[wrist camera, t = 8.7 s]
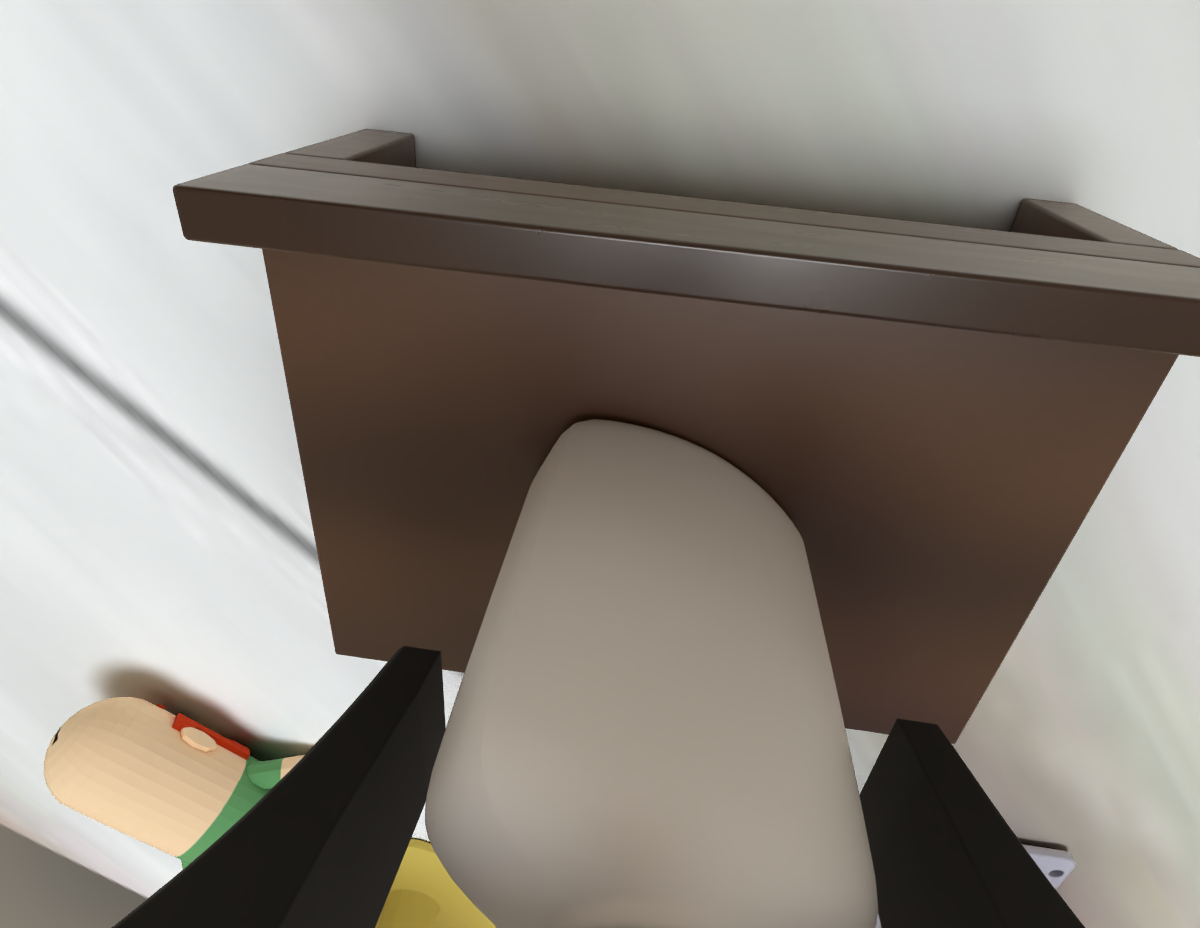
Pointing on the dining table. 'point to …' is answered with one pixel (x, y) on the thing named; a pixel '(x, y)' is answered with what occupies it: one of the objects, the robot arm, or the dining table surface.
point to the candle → (427, 895)
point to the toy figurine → (156, 774)
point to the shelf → (702, 388)
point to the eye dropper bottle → (651, 709)
